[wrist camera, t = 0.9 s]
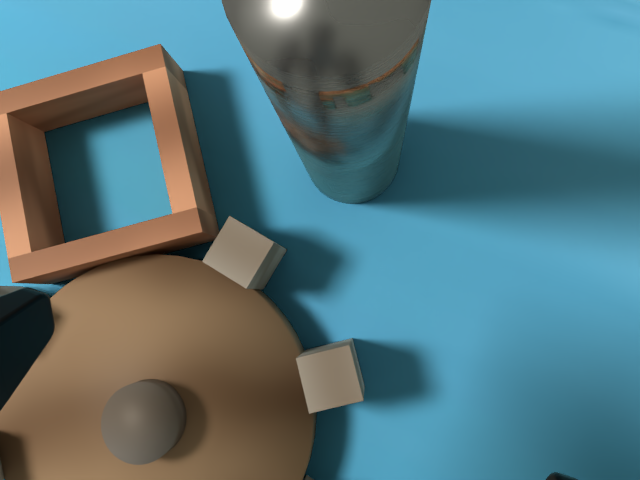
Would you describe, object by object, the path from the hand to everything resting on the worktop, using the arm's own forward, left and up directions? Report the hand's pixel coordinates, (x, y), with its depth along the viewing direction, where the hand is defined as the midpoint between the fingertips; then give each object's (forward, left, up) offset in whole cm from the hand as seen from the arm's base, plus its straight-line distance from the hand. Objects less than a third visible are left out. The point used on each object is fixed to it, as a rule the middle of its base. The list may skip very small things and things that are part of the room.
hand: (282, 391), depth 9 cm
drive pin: (+6, +5, -13) cm, 15 cm away
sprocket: (-6, +5, -13) cm, 15 cm away
